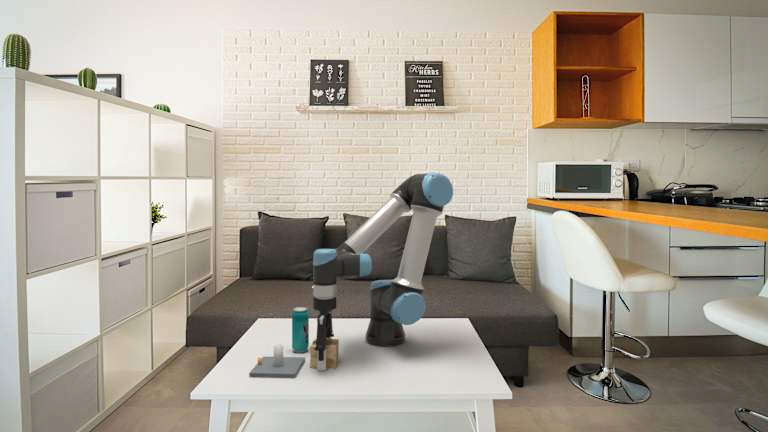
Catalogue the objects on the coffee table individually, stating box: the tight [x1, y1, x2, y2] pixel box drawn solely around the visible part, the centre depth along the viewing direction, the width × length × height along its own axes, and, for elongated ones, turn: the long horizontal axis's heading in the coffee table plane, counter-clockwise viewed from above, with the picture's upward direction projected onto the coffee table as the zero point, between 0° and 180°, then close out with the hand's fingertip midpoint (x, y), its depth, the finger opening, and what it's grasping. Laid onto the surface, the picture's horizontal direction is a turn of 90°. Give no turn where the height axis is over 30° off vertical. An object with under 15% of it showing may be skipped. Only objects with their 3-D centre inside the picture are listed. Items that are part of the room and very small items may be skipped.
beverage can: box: [291, 306, 310, 354], centre depth 160 cm, size 6×6×15 cm
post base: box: [248, 344, 306, 379], centre depth 144 cm, size 14×14×7 cm
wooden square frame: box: [309, 337, 340, 370], centre depth 148 cm, size 8×8×7 cm
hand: (324, 363), depth 148 cm, fingers open, 11 cm apart
